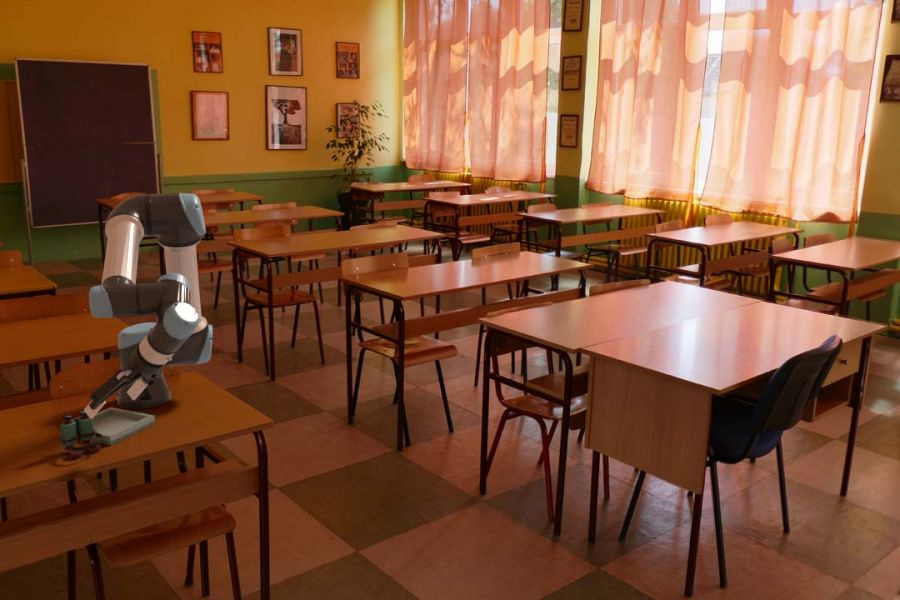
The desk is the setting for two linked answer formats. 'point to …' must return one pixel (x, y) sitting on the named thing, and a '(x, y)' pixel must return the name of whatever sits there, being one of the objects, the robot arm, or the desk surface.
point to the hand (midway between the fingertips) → (110, 404)
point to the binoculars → (79, 435)
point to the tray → (119, 424)
